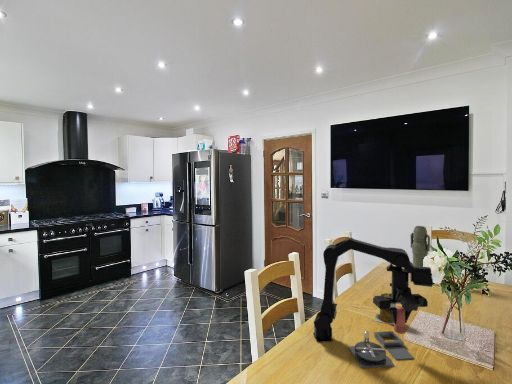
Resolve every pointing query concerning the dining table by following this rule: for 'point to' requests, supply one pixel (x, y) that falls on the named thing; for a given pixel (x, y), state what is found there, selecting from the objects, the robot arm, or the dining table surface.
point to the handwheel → (370, 350)
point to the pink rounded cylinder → (400, 320)
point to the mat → (400, 353)
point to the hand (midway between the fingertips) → (399, 323)
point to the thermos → (419, 245)
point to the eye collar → (388, 344)
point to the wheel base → (370, 364)
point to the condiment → (384, 313)
